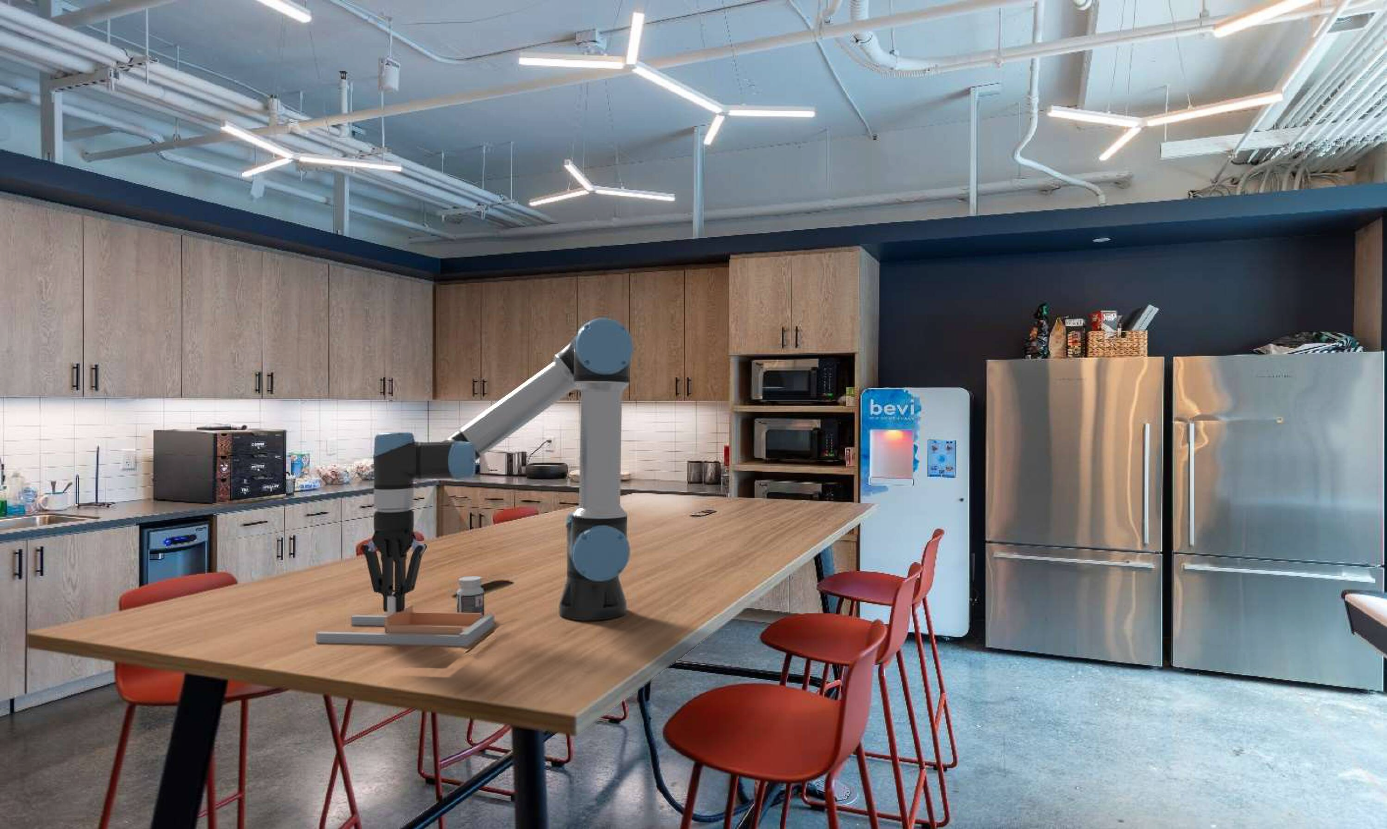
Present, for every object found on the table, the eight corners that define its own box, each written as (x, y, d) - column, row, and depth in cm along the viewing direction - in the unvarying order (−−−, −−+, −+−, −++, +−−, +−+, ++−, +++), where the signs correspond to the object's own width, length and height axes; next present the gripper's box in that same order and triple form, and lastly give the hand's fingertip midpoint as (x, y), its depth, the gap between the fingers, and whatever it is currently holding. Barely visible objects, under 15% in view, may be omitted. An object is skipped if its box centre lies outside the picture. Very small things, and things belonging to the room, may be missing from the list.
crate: (481, 627, 167) (481, 605, 167) (461, 642, 156) (461, 619, 156) (410, 626, 168) (410, 604, 168) (384, 641, 157) (384, 617, 157)
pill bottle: (490, 622, 176) (489, 576, 176) (472, 629, 171) (472, 581, 171) (469, 620, 179) (468, 574, 179) (451, 626, 173) (450, 579, 173)
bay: (493, 631, 169) (493, 614, 169) (467, 652, 154) (467, 634, 154) (354, 629, 171) (354, 612, 171) (315, 649, 156) (315, 631, 156)
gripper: (433, 507, 166) (433, 623, 166) (371, 507, 167) (371, 622, 167) (417, 512, 159) (417, 633, 159) (353, 511, 160) (353, 632, 160)
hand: (394, 627), depth 163 cm, fingers closed
